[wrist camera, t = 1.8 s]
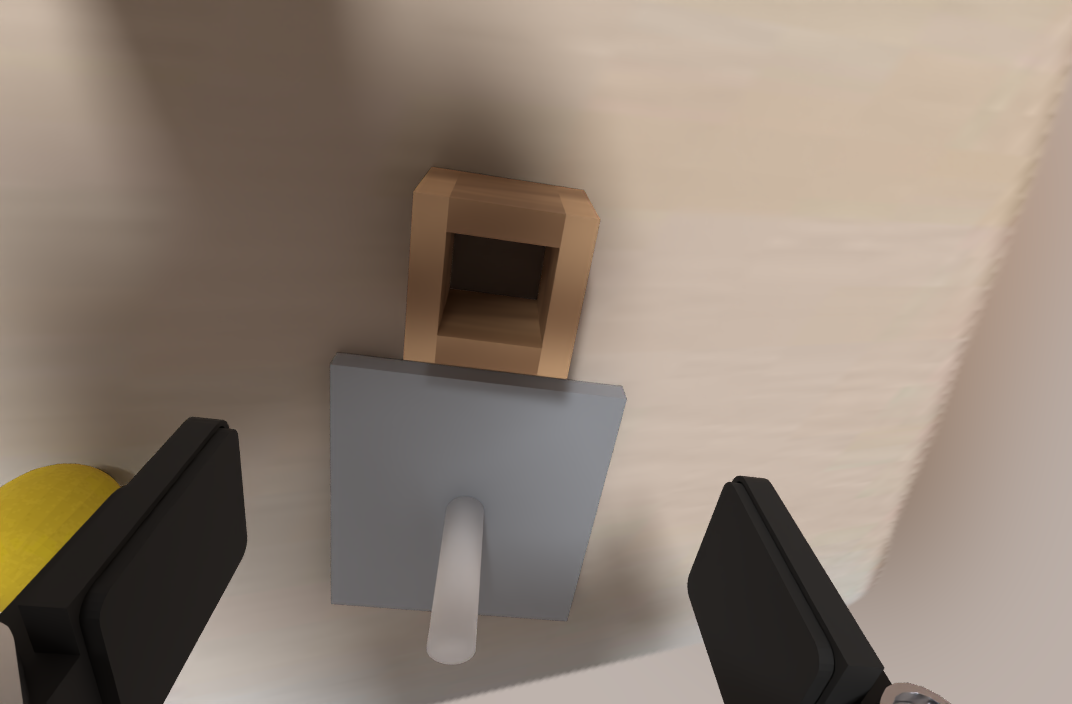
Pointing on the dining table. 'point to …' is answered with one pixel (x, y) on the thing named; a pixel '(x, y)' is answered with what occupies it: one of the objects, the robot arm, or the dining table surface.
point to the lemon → (44, 518)
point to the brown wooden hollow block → (489, 319)
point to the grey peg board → (463, 491)
